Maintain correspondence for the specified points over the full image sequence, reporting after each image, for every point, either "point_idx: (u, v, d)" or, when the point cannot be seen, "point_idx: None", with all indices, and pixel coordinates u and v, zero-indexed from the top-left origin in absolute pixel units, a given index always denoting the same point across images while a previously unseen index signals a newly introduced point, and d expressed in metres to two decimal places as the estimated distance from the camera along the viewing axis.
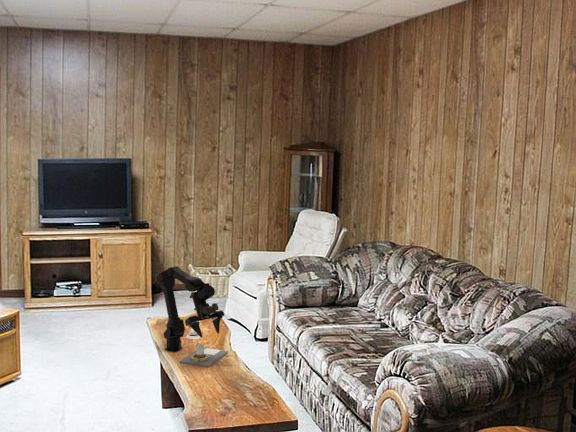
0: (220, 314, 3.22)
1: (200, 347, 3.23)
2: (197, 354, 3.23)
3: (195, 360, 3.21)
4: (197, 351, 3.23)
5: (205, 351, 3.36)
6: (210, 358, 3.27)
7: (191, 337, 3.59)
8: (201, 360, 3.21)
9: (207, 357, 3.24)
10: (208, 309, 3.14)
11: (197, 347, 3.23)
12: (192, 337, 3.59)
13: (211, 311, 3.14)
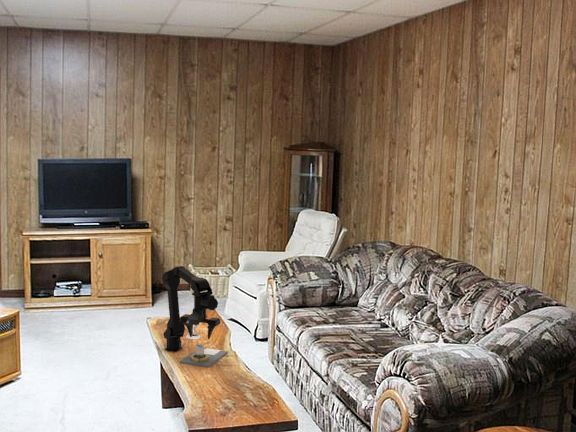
0: (210, 324, 3.18)
1: (200, 347, 3.23)
2: (197, 354, 3.23)
3: (195, 360, 3.21)
4: (197, 351, 3.23)
5: (205, 351, 3.36)
6: (210, 358, 3.27)
7: (191, 337, 3.59)
8: (201, 360, 3.21)
9: (207, 357, 3.24)
10: (188, 320, 3.16)
11: (197, 347, 3.23)
12: (192, 337, 3.59)
13: (191, 323, 3.16)
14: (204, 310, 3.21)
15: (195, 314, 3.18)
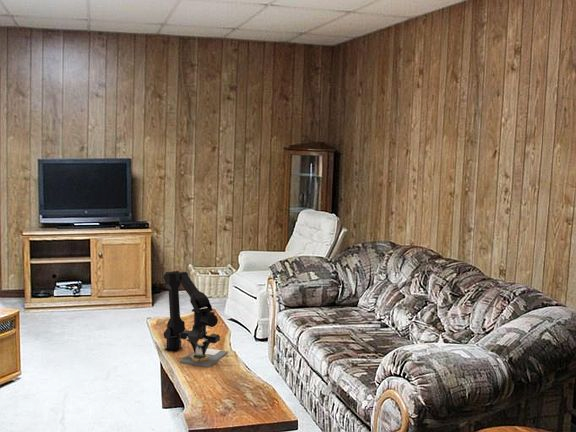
0: (210, 341, 3.19)
1: (200, 347, 3.23)
2: (197, 354, 3.23)
3: (195, 360, 3.21)
4: (197, 351, 3.23)
5: None
6: (210, 358, 3.27)
7: None
8: (201, 360, 3.21)
9: (207, 357, 3.24)
10: (188, 337, 3.17)
11: (197, 347, 3.23)
12: None
13: (191, 339, 3.17)
14: (204, 327, 3.22)
15: (195, 331, 3.19)
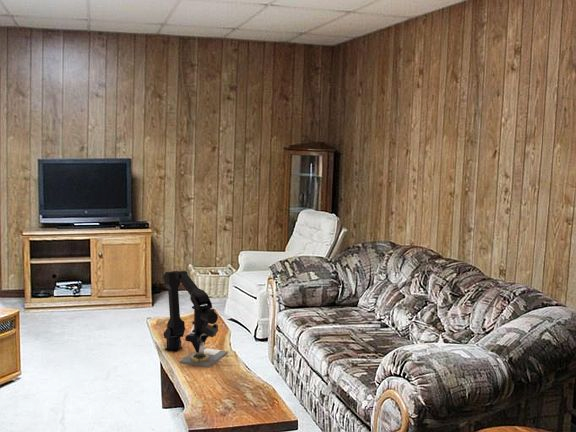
0: None
1: None
2: (203, 351, 3.24)
3: (195, 360, 3.21)
4: (203, 348, 3.24)
5: (205, 351, 3.36)
6: (210, 358, 3.27)
7: None
8: (201, 360, 3.21)
9: (207, 357, 3.24)
10: (213, 333, 3.19)
11: (203, 344, 3.23)
12: None
13: (214, 334, 3.21)
14: None
15: (209, 326, 3.22)
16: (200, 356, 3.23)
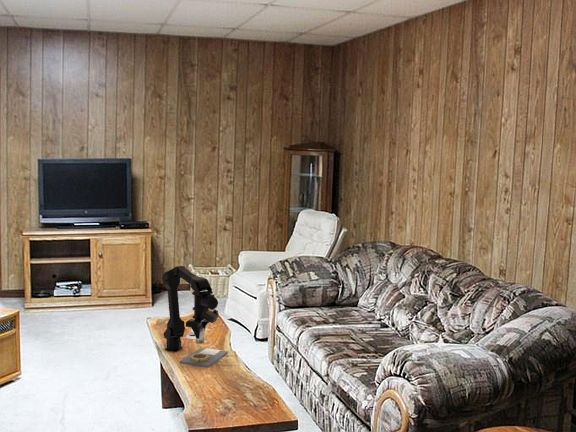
0: None
1: None
2: (203, 337, 3.23)
3: (195, 360, 3.21)
4: (203, 334, 3.23)
5: (205, 351, 3.36)
6: (210, 358, 3.27)
7: (191, 337, 3.59)
8: (201, 360, 3.21)
9: (207, 357, 3.24)
10: (214, 318, 3.19)
11: (203, 330, 3.23)
12: (192, 337, 3.59)
13: (214, 320, 3.20)
14: None
15: (209, 312, 3.21)
16: (200, 342, 3.22)
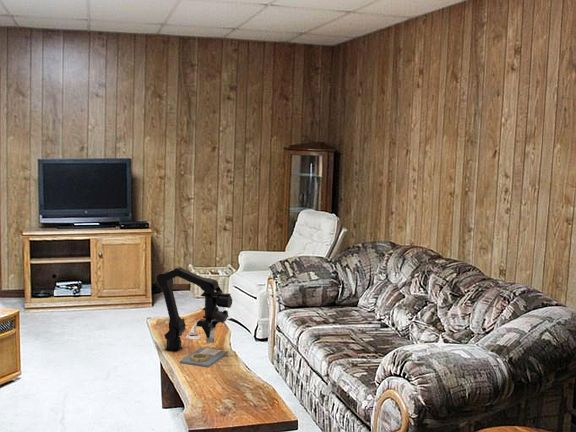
0: None
1: None
2: (213, 336, 3.34)
3: (195, 360, 3.21)
4: (213, 333, 3.34)
5: (205, 351, 3.36)
6: (210, 358, 3.27)
7: (191, 337, 3.59)
8: (201, 360, 3.21)
9: (207, 357, 3.24)
10: (224, 318, 3.30)
11: (213, 329, 3.34)
12: (192, 337, 3.59)
13: (224, 320, 3.31)
14: None
15: (219, 312, 3.32)
16: (211, 341, 3.34)
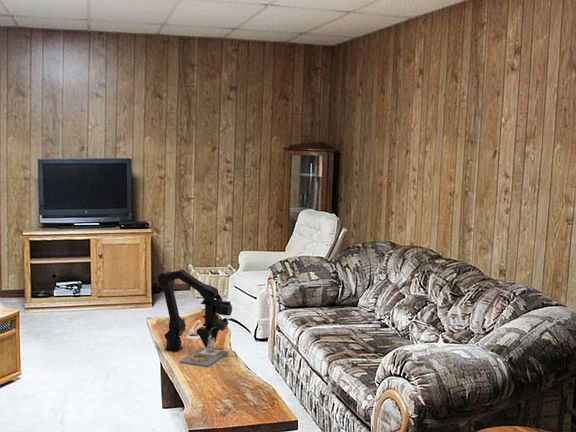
0: None
1: None
2: (213, 346, 3.35)
3: (195, 360, 3.21)
4: (213, 343, 3.35)
5: (205, 351, 3.36)
6: (210, 358, 3.27)
7: (191, 337, 3.59)
8: (201, 360, 3.21)
9: (207, 357, 3.24)
10: (224, 326, 3.30)
11: (213, 339, 3.34)
12: (192, 337, 3.59)
13: (224, 328, 3.32)
14: None
15: (219, 320, 3.33)
16: (211, 351, 3.34)
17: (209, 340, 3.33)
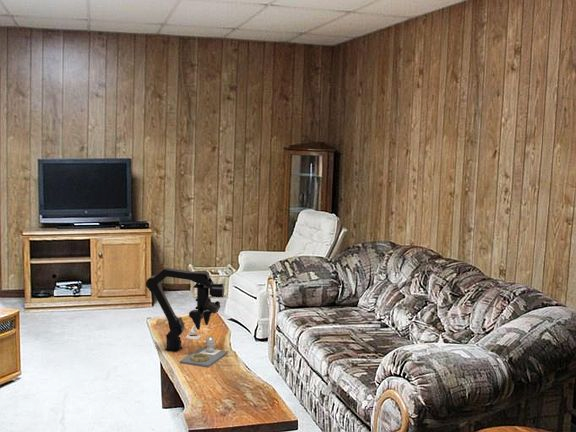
0: None
1: (214, 338, 3.36)
2: (213, 346, 3.35)
3: (195, 360, 3.21)
4: (213, 343, 3.35)
5: (205, 351, 3.36)
6: (210, 358, 3.27)
7: (191, 337, 3.59)
8: (201, 360, 3.21)
9: (207, 357, 3.24)
10: (216, 309, 3.35)
11: (213, 339, 3.34)
12: (192, 337, 3.59)
13: (216, 310, 3.36)
14: None
15: (211, 303, 3.37)
16: (211, 351, 3.34)
17: (209, 340, 3.33)
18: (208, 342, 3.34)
